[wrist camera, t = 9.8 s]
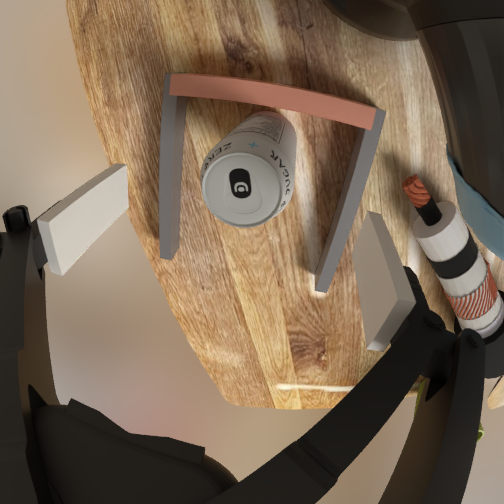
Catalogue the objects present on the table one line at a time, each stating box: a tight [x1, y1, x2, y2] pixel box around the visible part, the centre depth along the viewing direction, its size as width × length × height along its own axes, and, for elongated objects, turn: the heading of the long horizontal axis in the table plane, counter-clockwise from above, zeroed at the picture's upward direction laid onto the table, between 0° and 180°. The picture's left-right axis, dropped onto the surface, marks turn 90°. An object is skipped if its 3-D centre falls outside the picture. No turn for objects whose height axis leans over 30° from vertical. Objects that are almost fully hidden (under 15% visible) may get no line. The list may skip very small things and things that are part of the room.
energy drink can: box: [200, 111, 297, 228], centre depth 23 cm, size 6×6×15 cm
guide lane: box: [159, 73, 386, 293], centre depth 30 cm, size 22×21×5 cm
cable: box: [402, 175, 504, 379], centre depth 31 cm, size 10×34×10 cm, turn 46°
